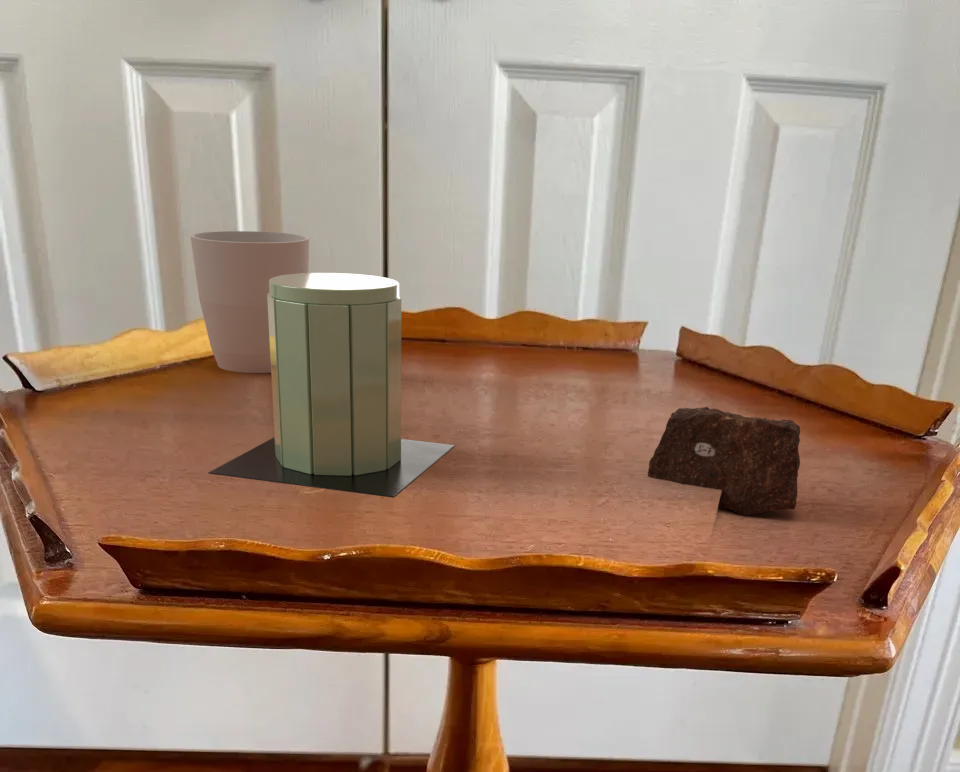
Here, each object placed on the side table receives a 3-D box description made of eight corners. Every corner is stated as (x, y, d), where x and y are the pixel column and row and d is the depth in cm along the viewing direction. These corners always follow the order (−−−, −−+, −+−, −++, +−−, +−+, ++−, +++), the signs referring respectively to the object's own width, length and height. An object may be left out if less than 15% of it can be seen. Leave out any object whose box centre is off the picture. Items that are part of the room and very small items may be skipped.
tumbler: (255, 467, 53) (243, 283, 49) (309, 436, 58) (303, 269, 54) (371, 482, 51) (369, 293, 47) (415, 448, 57) (417, 278, 53)
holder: (208, 495, 52) (195, 329, 48) (294, 446, 61) (288, 302, 57) (393, 520, 50) (393, 347, 46) (455, 465, 58) (459, 316, 55)
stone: (642, 499, 54) (652, 404, 52) (657, 484, 57) (668, 393, 54) (790, 524, 51) (808, 425, 49) (799, 507, 54) (817, 412, 52)
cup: (299, 367, 81) (293, 231, 76) (326, 389, 74) (322, 242, 70) (194, 371, 78) (182, 230, 74) (212, 395, 71) (200, 242, 67)
